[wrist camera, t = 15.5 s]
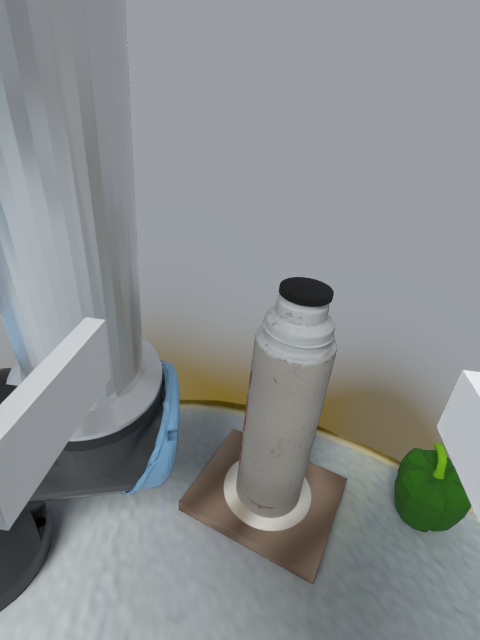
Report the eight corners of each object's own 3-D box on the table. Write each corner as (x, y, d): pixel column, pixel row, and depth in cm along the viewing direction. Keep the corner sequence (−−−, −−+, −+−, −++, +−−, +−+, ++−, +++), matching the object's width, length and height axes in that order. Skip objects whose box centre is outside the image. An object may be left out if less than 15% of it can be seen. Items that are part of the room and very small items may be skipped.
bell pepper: (451, 559, 45) (485, 504, 40) (379, 522, 49) (403, 467, 44) (456, 505, 52) (486, 451, 47) (393, 475, 55) (415, 422, 50)
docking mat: (178, 509, 48) (179, 500, 47) (232, 436, 59) (233, 427, 58) (312, 583, 42) (315, 575, 41) (344, 486, 53) (347, 477, 52)
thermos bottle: (223, 496, 48) (246, 287, 34) (255, 453, 54) (285, 262, 40) (282, 531, 45) (333, 316, 31) (309, 482, 51) (361, 284, 37)
